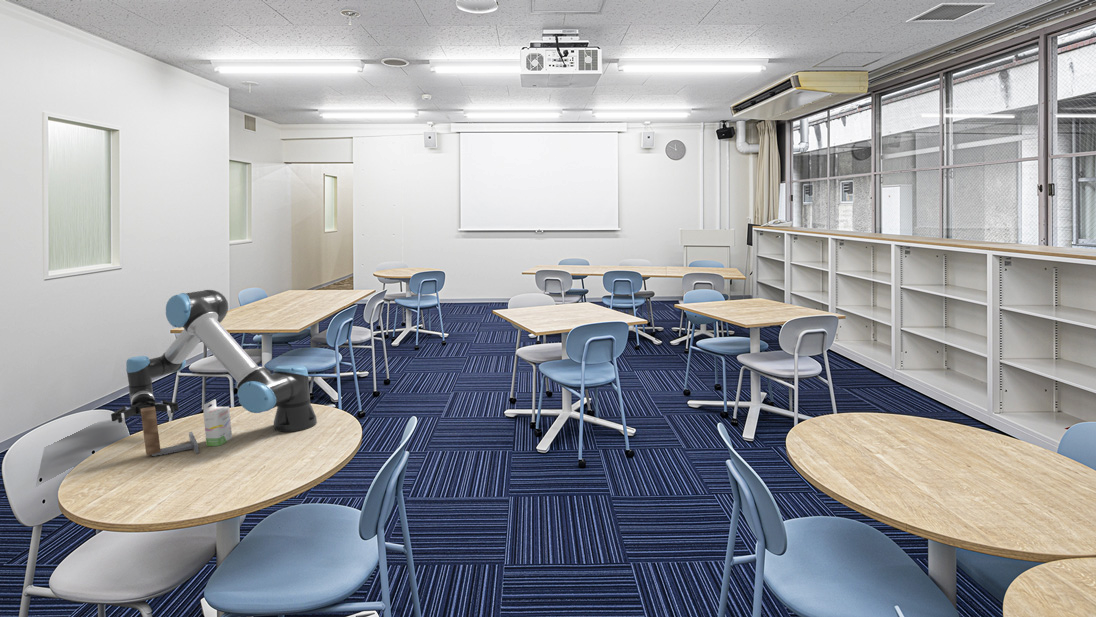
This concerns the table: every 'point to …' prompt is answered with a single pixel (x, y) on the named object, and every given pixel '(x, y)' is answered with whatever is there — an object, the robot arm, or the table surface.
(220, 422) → the ink box
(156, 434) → the wooden post on rail
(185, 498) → the table surface
